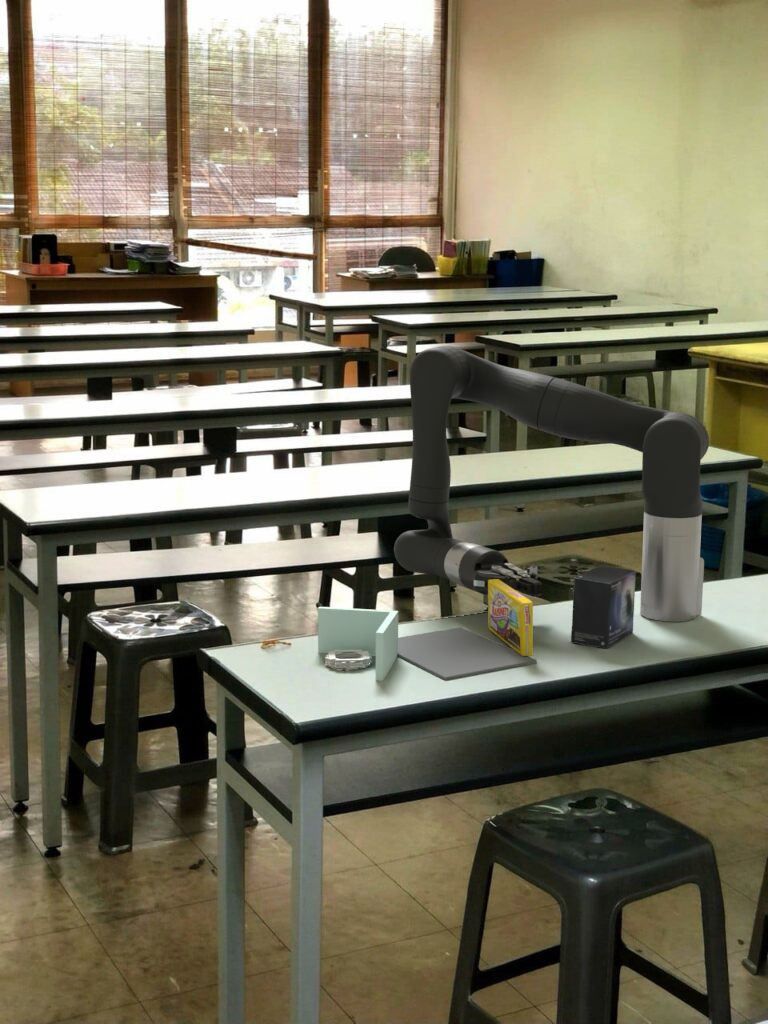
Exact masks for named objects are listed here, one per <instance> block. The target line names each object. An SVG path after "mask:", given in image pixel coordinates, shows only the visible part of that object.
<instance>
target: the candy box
mask: <svg viewBox="0 0 768 1024" xmlns="http://www.w3.org/2000/svg"><path fill="white" fill-rule="evenodd" d="M533 605H534V602H533V601H531V599H529V598H527V597H526V596H525V595H523V594H522V593H521V592H520V593H518V592H517V591H515V590H514V589H512V588H511V587H509V586H508V585H507V584H505V583H504V582H502V581H501V580H499V579H490V580H488V595H487V610H488V611H487V620H488V621H487V622H488V623H487V624H488V627H487V628H488V630H490V632H492V633H493V634H495V635H496V636H497V637H498V638H499V639H501V640H502V641H503V642H504V643H506V644H507V645H508V647H511V649H513V650H515V651H517V652H518V653H519V654H521V655H522V656H529V657H532V656H533V654H534V607H533Z"/></svg>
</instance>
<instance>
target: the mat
mask: <svg viewBox="0 0 768 1024" xmlns="http://www.w3.org/2000/svg"><path fill="white" fill-rule="evenodd" d="M398 657H399V658H401V659H402V660H405V661H406V662H409V663H410V664H413V665H414V666H416V667H418V668H421V669H422V670H424V671H427V672H428V673H430V674H432V675H434V676H435V677H438V678H440V679H442V680H445V681H448V680H454V679H459V678H463V677H468V676H469V677H470V676H474V675H475V676H476V675H479V674H484V673H490V672H495V671H500V670H507V669H511V668H517V667H522V666H527V665H531V664H537V663H538V660H537V659H535V658H534V657H532V656H522V655H521V654H519V653H518V652H517V651H516V650H514V649H513V648H510V647H509V646H506V645H503V644H501V643H499V642H497V641H494V640H492V639H489V638H487V637H485V636H483V635H481V634H478V633H476V632H473V631H471V630H469V629H466V628H464V627H455V628H447V629H442V630H435V631H430V632H424V633H419V634H418V633H417V634H412V635H407V636H399V637H398V653H397V658H398Z"/></svg>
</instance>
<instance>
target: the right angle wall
mask: <svg viewBox="0 0 768 1024" xmlns="http://www.w3.org/2000/svg"><path fill="white" fill-rule="evenodd" d="M398 638H399V611H398V610H387V609H386V610H385V609H384V610H383V609H367V608H352V607H351V608H348V607H333V606H319V607H317V643H318V644H317V653H318V654H319V653H320V654H325V657H324V659H325V660H324V662H325V663H324V664H323V665H324V666H326V667H328V668H331V669H333V670H335V671H338V672H339V671H343V670H345V671H346V672H349V671H355V670H359V669H365V668H368V666H369V667H370V665H371V664H372V663H373V661H372V659H373V658H372V657H375V681H380V682H381V681H384V680H385V678H386V676H387V674H388V673H389V672H390V669H391V668H392V666H393V665H394V663H395V661H397V660H396V659H397V658H398V656H397V653H398ZM369 663H371V664H369Z"/></svg>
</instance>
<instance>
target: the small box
mask: <svg viewBox="0 0 768 1024" xmlns="http://www.w3.org/2000/svg"><path fill="white" fill-rule="evenodd" d="M636 573H637V570H633V569H626V568H621V567H615V566H610V565H605V564H600V565H599V566H596V567H593V568H592V569H590V570H587V571H585V572H583V573H581V574H579V575H576V576H574V578H573V595H572V596H573V597H572V620H571V622H572V623H571V633H570V634H571V635H570V643H572V644H574V643H575V644H580V645H585V646H591V647H596V648H601V649H608V648H610V647H611V646H614V645H615V644H617V643H618V642H620V641H622V640H623V639H626V638H627V637H629V636H631V635H632V634H634V619H635V618H634V615H635V598H636V597H635V596H636V595H635V593H636V575H637V574H636Z"/></svg>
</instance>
